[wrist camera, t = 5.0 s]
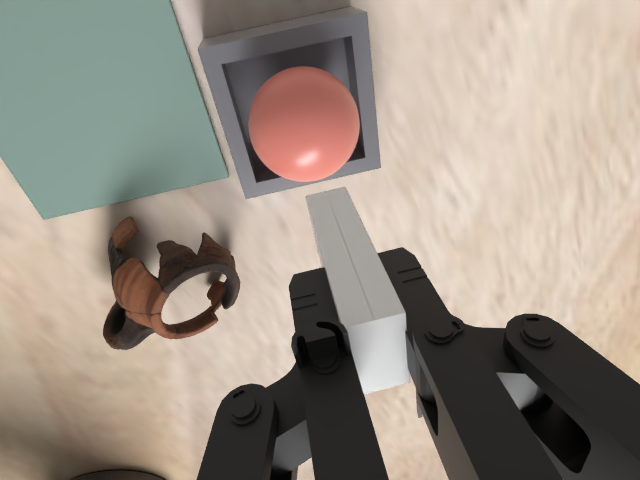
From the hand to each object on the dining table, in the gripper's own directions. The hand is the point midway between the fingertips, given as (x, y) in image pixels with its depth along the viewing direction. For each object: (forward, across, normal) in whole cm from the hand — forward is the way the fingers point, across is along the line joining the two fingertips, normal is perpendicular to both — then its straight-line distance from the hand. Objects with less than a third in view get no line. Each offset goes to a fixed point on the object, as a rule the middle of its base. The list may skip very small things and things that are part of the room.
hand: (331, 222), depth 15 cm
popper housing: (+16, 0, 0) cm, 16 cm away
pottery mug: (+17, -13, -11) cm, 24 cm away
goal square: (+16, -13, +3) cm, 21 cm away
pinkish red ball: (+13, 0, 0) cm, 13 cm away
